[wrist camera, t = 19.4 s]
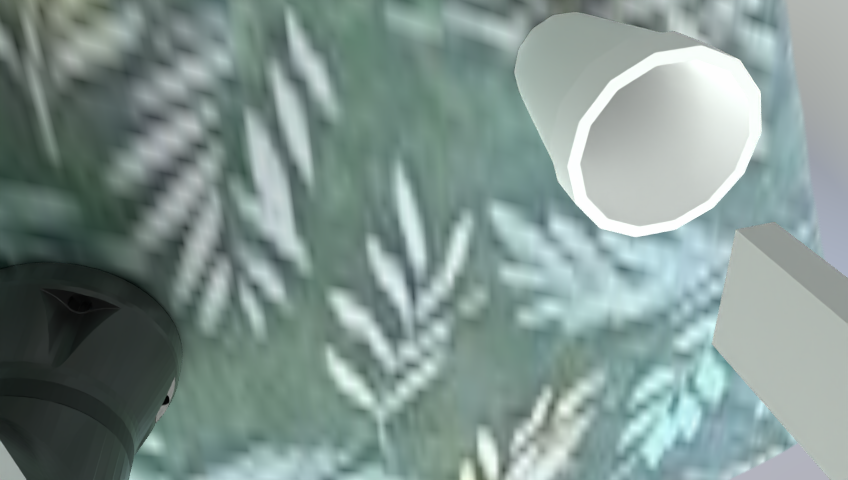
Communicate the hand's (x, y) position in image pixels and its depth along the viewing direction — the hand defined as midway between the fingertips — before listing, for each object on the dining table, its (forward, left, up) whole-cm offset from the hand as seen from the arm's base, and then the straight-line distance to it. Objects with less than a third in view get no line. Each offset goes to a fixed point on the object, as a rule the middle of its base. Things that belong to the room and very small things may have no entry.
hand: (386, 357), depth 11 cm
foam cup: (+13, -9, -30) cm, 33 cm away
